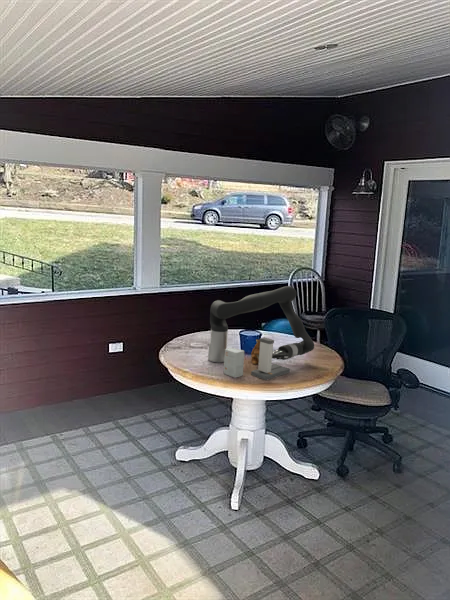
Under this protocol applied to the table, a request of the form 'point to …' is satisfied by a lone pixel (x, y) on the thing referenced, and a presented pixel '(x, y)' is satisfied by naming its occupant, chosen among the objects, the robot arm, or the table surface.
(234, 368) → the small box
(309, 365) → the table surface
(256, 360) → the stuffed squirrel
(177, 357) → the table surface
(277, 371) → the fader panel
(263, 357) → the grey tall block
